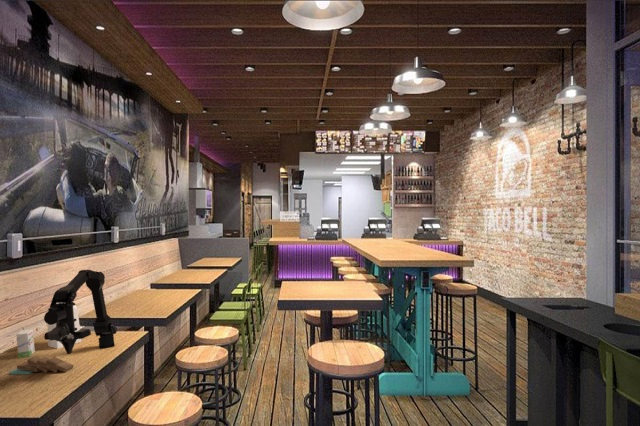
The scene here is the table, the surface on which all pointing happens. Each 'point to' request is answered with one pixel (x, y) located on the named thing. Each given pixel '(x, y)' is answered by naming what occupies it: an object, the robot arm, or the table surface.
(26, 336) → the ink box
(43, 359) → the domino
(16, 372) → the domino
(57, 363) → the domino
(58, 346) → the milk
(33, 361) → the domino
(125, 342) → the table surface
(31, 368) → the domino
